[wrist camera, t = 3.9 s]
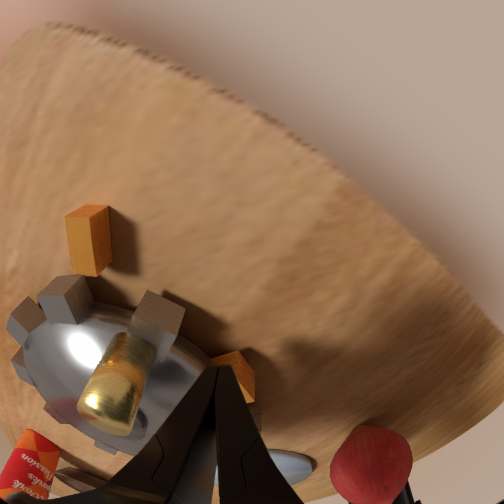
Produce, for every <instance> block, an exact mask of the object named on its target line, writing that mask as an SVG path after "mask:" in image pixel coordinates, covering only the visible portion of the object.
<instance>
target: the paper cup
mask: <svg viewBox="0 0 504 504" xmlns="http://www.w3.org/2000/svg"><path fill="white" fill-rule="evenodd" d="M60 453H61V451H60V450H59V448H58V447H56V446H55V445H54V444H53V443H52V442H50V441H49V440H48V439H46V438H45V437H43V436H42V435H40V434H38V433H37V432H35V431H33V430H30V429H26V431H25V432H24V434H23V435H22V437H21V438H20V440H19V442H18V444H17V445H16V447H15V449H14V450H13V452H12V454H11V456H10V458H9V460H8V461H7V464H6V465H5V467H4V469H3V471H2V473H1V475H0V497H1V498H2V499H4V500H5V498H6V497H7V496H8V495H9V494H11V493H14V492H17V491H20V490H22V491H24V492H26V493H28V494H29V495H31V496H33V497H35V498H37V499H44V500H48V497H49V492H50V489H51V485H52V482H53V478H54V474H55V471H56V468H57V464H58V461H59V457H60ZM5 501H6V500H5Z"/></svg>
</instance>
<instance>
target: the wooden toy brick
mask: <svg viewBox="0 0 504 504" xmlns="http://www.w3.org/2000/svg"><path fill="white" fill-rule="evenodd" d="M65 225H66V233H67V240H68V246H69V253H70V258H71V264H72V269H73V273H74V274H81V275H88V276H95V277H97V276H98V275H99V274H100V273H101V272H102V271H103V270H104V268H105V267H106V266H107V265H108V264H109V263H110V262H111V261H112V260H113V255H112V246H111V236H110V224H109V209H108V206H101V205H84V206H82V207H80V208H79V209H77V210H75V211H73V212H72V213H70V214H68V215H66V216H65Z"/></svg>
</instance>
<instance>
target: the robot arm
mask: <svg viewBox="0 0 504 504" xmlns="http://www.w3.org/2000/svg"><path fill="white" fill-rule="evenodd" d="M216 467H217V470H218V486H219V497H220V504H304V503H303V502H302V500H301V499H300V498H299V497H298V495H297V494H296V493H295V491H294V490H293V489H292V487H291V486H290V485H289V483H288V482H287V480H286V479H285V478H284V476H283V475H282V473H281V472H280V471H279V469H278V468H277V466H276V464H275V463H274V461H273V460H272V458H271V456H270V454H269V452H268V450H267V448H266V446H265V444H264V442H263V439H262V438H261V435H260V433H259V431H258V428H257V426H256V424H255V421H254V419H253V417H252V414H251V412H250V410H249V407H248V405H247V402H246V400H245V398H244V395H243V393H242V390H241V388H240V385H239V383H238V380H237V378H236V375H235V373H234V370H233V368H232V366H231V365H220V366H219V365H208V366H206V368H205V369H204V370H203V372H202V373H201V374H200V376H199V377H198V378H197V380H196V381H195V382H194V384H193V385H192V386H191V387H190V389H189V390H188V391H187V393H186V394H185V395H184V397H183V398H182V399H181V401H180V402H179V403H178V404H177V406H176V407H175V408H174V410H173V411H172V412H171V413H170V415H169V416H168V417H167V419H166V420H165V421H164V422H163V424H162V425H161V426H160V427H159V429H158V430H157V431H156V434H154V435H153V436H152V437H151V439H150V440H149V441H148V442H147V443H146V445H145V446H144V447H143V448H142V449H141V450H140V451H139V452H138V453H137V454H136V455H135V456H134V457H133V458H132V459H131V460H130V461H129V462H128V463H127V464H126V465H125V466H124V467H123V468H122V469H121V470H120V471H118V472H117V473H116V474H115V475H114V476H113V477H112V478H111V479H110V480H108V481H107V482H106V483H105V484H103V485H101V486H100V487H98V488H95V489H93V490H89V491H86V492H82V493H78V494H74V495H69V496H65V497H60V498H55V499H48V500H44V499H37V498H35V497H33V496H31V495H29V494H28V493H26V492H24V491H22V490H20V491H17V492H14V493H11V494H9V495H8V496H7V497H6V498H5V500H6V501H5V500H4V499H2V498H1V497H0V504H211V501H212V494H213V487H214V480H215V474H216ZM348 502H349V501H348ZM349 504H353V503H350V502H349ZM392 504H422V503H421V501H420V500H418V501H416V502H415V503H414V499H413V496H412V492H411V489H410V485H409V482H408V480H407V483H406V485H405V487H404V488H403V490H402V491H401V492H400V493H399V495H398V496H397V497H396V498H395V499H394V501H393V502H392ZM496 504H504V499H503V500H501V501H500V502H498V503H496Z"/></svg>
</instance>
